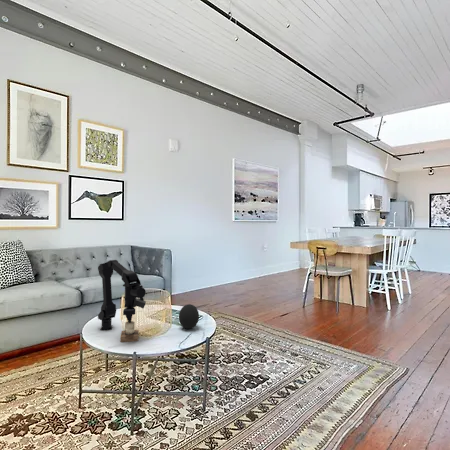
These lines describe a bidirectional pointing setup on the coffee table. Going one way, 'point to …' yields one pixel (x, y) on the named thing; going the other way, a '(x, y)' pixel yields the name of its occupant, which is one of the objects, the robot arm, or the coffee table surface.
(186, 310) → the decorative egg
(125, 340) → the brown square frame
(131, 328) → the peg
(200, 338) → the coffee table surface
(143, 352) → the coffee table surface
